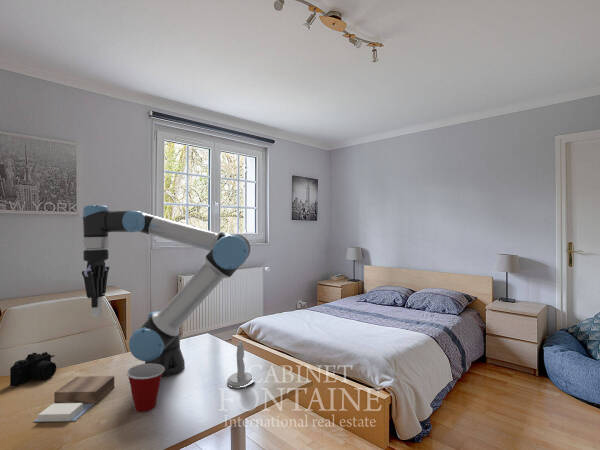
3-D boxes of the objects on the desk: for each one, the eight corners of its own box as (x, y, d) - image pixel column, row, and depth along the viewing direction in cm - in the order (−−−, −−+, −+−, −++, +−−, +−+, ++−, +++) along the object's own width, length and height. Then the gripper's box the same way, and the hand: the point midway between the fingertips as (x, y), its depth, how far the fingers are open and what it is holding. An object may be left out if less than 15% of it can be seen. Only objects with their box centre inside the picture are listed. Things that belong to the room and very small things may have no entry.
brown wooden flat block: (114, 387, 117) (114, 376, 117) (96, 404, 106) (95, 391, 106) (76, 388, 117) (76, 376, 117) (54, 404, 106) (54, 392, 106)
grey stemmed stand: (256, 375, 125) (256, 336, 125) (251, 388, 115) (251, 345, 115) (230, 375, 126) (230, 336, 126) (223, 388, 116) (223, 345, 116)
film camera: (27, 389, 116) (27, 364, 116) (5, 387, 118) (5, 361, 118) (66, 371, 131) (66, 348, 131) (46, 369, 133) (46, 346, 133)
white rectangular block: (69, 413, 96) (69, 420, 96) (82, 402, 102) (82, 409, 102) (38, 414, 96) (38, 421, 96) (53, 403, 102) (53, 410, 102)
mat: (93, 404, 106) (93, 403, 106) (75, 421, 97) (75, 420, 97) (55, 405, 105) (55, 404, 105) (33, 422, 96) (33, 421, 96)
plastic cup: (161, 414, 100) (161, 374, 100) (122, 419, 97) (122, 378, 97) (167, 396, 110) (167, 360, 110) (132, 400, 108) (132, 363, 108)
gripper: (95, 248, 123) (96, 311, 123) (73, 250, 110) (73, 321, 110) (116, 247, 124) (117, 311, 124) (96, 250, 111) (96, 321, 111)
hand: (96, 315), depth 117 cm, fingers closed
